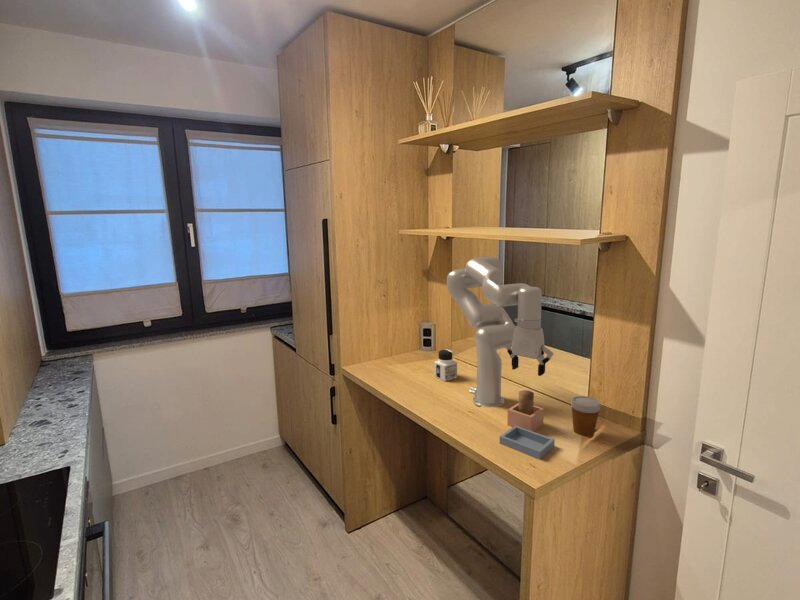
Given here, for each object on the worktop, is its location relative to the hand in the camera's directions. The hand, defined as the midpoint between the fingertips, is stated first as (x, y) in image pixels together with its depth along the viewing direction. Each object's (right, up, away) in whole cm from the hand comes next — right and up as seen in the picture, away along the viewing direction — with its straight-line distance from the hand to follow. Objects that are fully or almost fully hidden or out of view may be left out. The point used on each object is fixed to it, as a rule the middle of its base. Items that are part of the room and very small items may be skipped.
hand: (527, 371), depth 148 cm
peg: (0, -20, +4) cm, 20 cm away
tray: (-3, -23, -9) cm, 25 cm away
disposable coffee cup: (+19, -21, -1) cm, 29 cm away
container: (-23, -12, +53) cm, 59 cm away
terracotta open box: (0, -21, +4) cm, 21 cm away
